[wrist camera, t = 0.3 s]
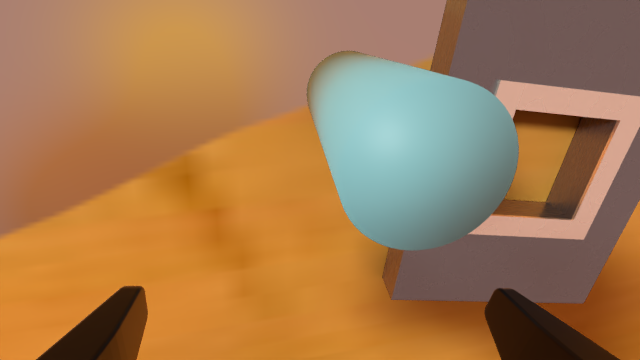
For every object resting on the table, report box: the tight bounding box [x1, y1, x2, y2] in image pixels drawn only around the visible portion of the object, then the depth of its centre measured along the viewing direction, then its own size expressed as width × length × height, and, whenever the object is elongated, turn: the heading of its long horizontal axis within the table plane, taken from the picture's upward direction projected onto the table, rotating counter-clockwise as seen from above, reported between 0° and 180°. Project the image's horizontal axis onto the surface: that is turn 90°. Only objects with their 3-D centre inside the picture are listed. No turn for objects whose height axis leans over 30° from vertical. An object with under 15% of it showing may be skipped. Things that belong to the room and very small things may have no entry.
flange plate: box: [382, 0, 640, 303], centre depth 23 cm, size 22×16×3 cm
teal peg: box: [307, 51, 519, 250], centre depth 15 cm, size 5×5×13 cm
